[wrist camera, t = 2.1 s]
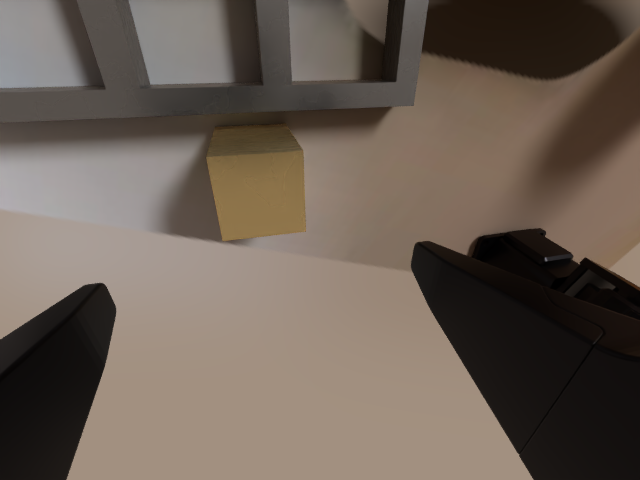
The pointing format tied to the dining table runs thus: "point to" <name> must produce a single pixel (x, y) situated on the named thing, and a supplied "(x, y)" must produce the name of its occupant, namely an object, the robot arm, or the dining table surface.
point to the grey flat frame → (219, 98)
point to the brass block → (257, 180)
